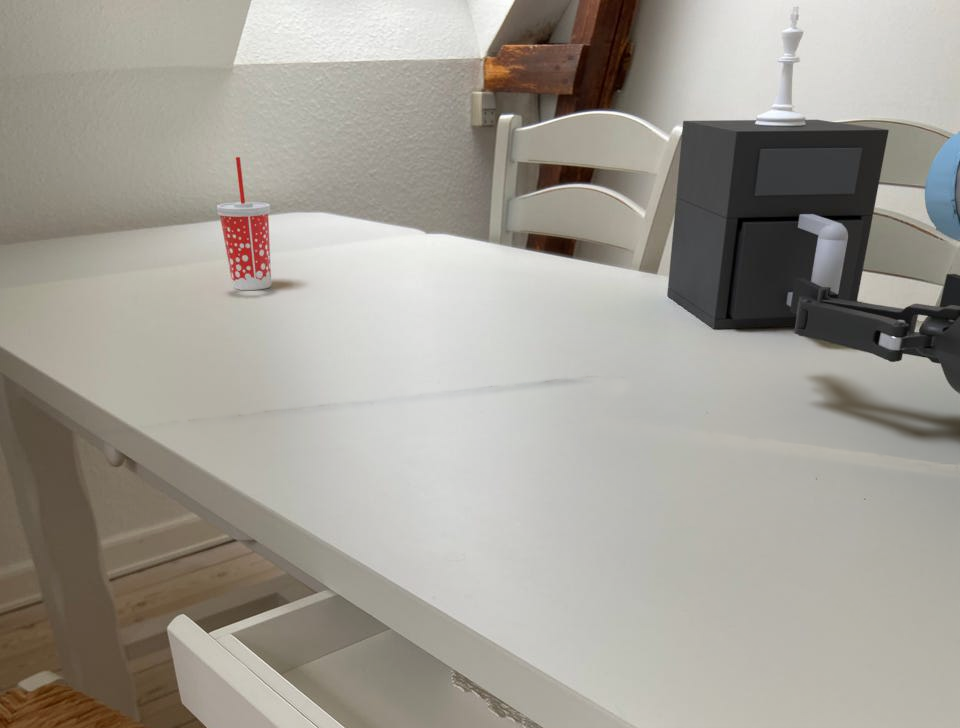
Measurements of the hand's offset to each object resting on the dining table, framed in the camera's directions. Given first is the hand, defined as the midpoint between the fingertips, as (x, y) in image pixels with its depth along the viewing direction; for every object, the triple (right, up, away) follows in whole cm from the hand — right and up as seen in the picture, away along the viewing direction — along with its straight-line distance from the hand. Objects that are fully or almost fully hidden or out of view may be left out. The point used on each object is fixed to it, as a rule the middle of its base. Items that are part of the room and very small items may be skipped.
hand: (872, 292), depth 85 cm
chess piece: (-3, +22, +15) cm, 27 cm away
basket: (-3, +5, +19) cm, 20 cm away
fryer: (-3, +7, +24) cm, 25 cm away
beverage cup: (-61, +13, +35) cm, 71 cm away
